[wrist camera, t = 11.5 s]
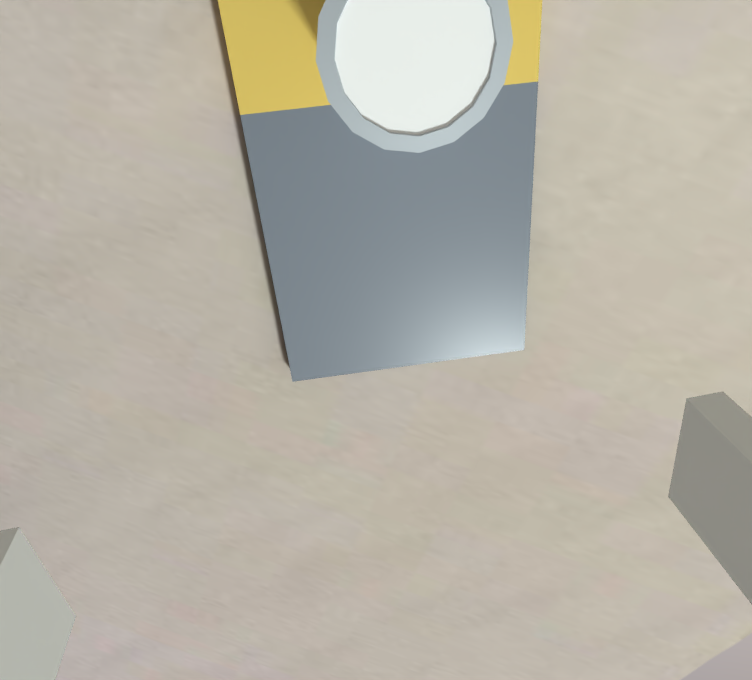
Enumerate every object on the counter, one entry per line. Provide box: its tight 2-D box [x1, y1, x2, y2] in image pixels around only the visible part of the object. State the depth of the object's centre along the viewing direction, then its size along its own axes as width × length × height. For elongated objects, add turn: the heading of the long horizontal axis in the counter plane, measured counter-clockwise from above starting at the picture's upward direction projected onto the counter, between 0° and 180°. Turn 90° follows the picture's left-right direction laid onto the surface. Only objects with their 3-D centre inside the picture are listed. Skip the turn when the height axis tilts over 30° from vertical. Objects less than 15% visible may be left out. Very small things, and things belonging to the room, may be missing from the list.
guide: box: [218, 0, 542, 381], centre depth 27 cm, size 14×25×6 cm, turn 5°
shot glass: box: [316, 0, 513, 153], centre depth 23 cm, size 7×7×7 cm
